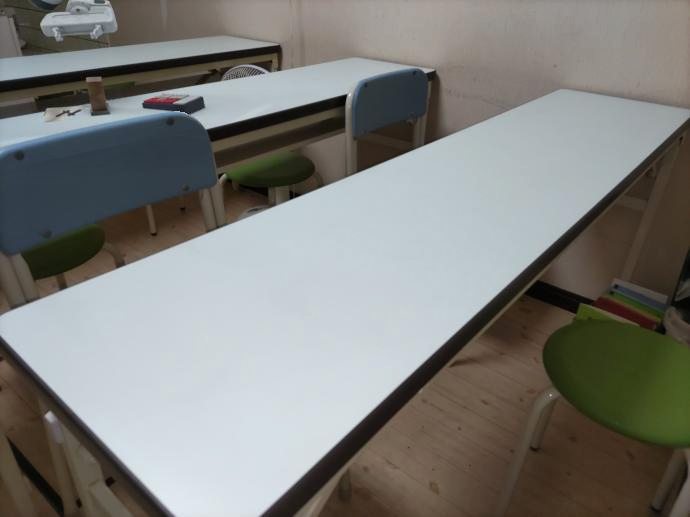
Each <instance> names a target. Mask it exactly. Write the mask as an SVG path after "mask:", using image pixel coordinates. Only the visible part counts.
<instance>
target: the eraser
mask: <svg viewBox="0 0 690 517" xmlns="http://www.w3.org/2000/svg"><path fill="white" fill-rule="evenodd" d="M102 78H103V77H102V76H90V77H89V76H87V77H86V78H85V83H86V87H87V92H88V93H87V94H88V97H89V102H90V116H91V117H96V116H105V115H106V116H108V115H110V114H111V111H110V103H109V102H107V98H106V93H105V89H104V83H103V79H102Z"/></svg>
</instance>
